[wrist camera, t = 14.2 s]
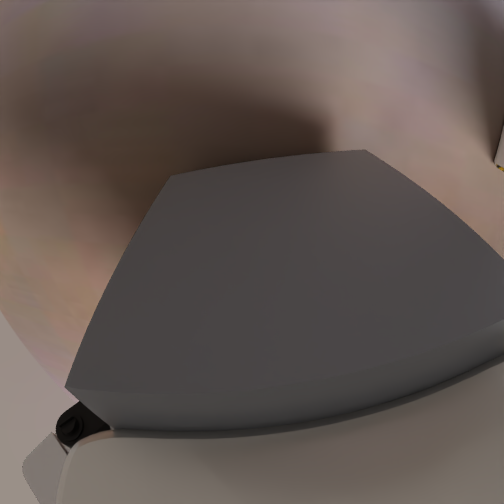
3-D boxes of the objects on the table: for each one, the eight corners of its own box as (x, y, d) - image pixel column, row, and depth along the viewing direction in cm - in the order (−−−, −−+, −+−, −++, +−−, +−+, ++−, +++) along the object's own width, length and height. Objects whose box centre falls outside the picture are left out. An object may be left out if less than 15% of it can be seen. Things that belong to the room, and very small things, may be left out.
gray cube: (365, 149, 10) (538, 299, 3) (356, 294, 14) (416, 447, 7) (170, 176, 10) (64, 386, 3) (212, 316, 15) (206, 485, 7)
